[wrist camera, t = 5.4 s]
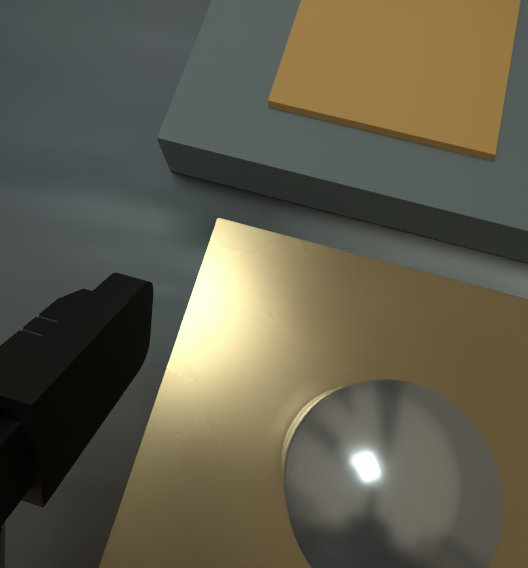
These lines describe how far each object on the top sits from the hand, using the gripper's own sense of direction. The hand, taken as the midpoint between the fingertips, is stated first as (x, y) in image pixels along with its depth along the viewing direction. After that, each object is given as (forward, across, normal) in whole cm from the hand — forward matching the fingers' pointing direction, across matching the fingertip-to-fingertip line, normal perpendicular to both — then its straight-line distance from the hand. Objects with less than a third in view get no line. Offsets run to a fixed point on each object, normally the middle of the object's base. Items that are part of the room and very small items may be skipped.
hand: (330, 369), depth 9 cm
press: (+13, 0, -6) cm, 14 cm away
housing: (+2, 0, +4) cm, 5 cm away
